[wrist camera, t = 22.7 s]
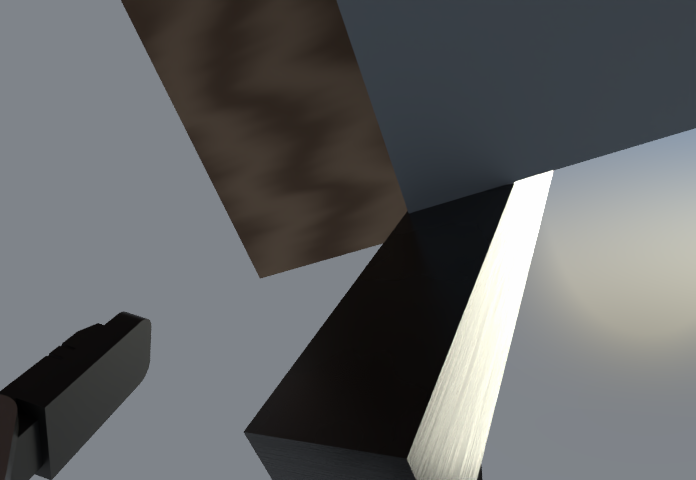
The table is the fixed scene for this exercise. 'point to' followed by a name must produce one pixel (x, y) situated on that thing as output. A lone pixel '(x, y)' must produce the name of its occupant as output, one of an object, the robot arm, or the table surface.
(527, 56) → the grey rectangular box
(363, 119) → the upright wooden block
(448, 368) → the lever bar
